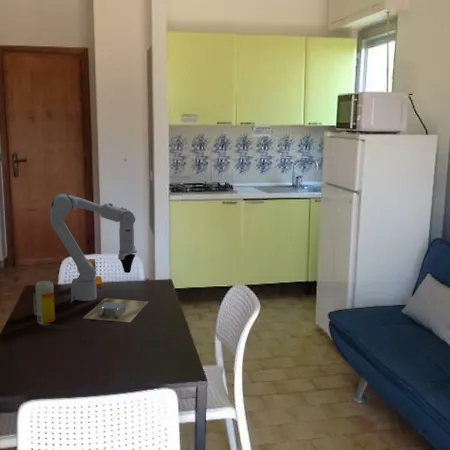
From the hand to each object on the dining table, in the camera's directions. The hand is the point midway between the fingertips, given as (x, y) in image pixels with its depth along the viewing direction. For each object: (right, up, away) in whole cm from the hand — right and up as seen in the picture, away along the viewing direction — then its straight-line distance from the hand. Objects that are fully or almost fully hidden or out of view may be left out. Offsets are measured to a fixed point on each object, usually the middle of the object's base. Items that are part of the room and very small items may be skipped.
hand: (127, 272), depth 230 cm
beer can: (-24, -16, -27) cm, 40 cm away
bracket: (-17, -7, +15) cm, 24 cm away
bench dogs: (-3, -14, -24) cm, 28 cm away
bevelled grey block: (-2, -14, -20) cm, 24 cm away
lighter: (-28, -14, -18) cm, 36 cm away
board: (-1, -14, -16) cm, 21 cm away
